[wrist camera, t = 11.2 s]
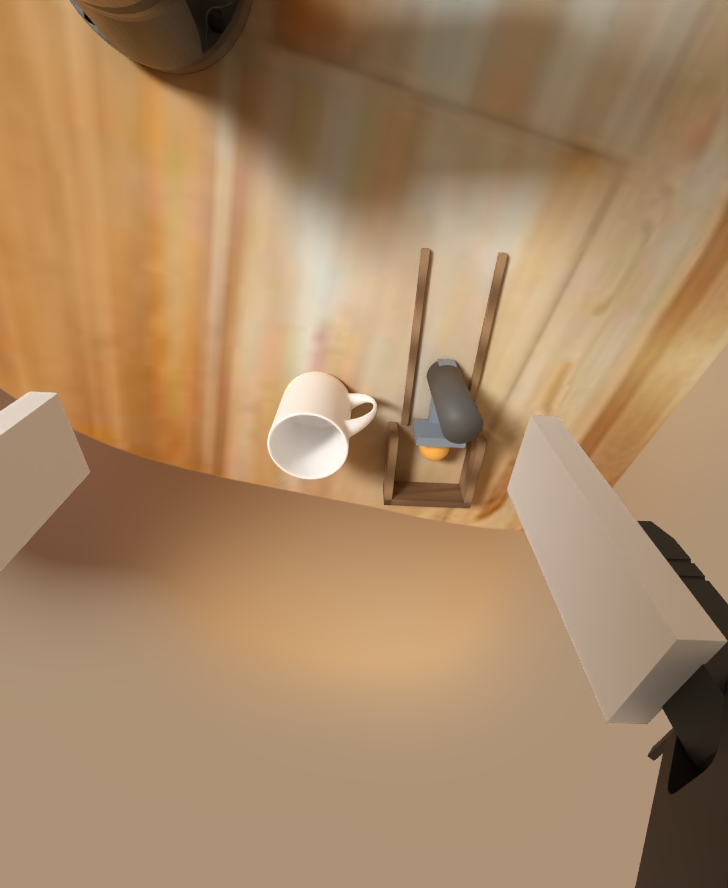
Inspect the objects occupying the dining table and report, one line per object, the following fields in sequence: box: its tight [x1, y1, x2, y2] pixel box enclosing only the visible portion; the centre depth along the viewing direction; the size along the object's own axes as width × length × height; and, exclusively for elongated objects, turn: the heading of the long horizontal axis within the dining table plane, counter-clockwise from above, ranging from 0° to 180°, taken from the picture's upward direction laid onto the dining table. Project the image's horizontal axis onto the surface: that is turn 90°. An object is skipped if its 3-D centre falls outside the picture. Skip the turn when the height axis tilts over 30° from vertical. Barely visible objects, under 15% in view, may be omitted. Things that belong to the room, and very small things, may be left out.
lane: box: [401, 248, 508, 425], centre depth 48 cm, size 21×9×1 cm, turn 177°
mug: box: [267, 372, 377, 479], centre depth 48 cm, size 9×12×11 cm
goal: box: [383, 422, 487, 508], centre depth 56 cm, size 11×12×4 cm
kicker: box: [413, 359, 483, 448], centre depth 47 cm, size 9×6×12 cm, turn 177°
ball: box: [419, 446, 450, 461], centre depth 54 cm, size 4×4×4 cm
